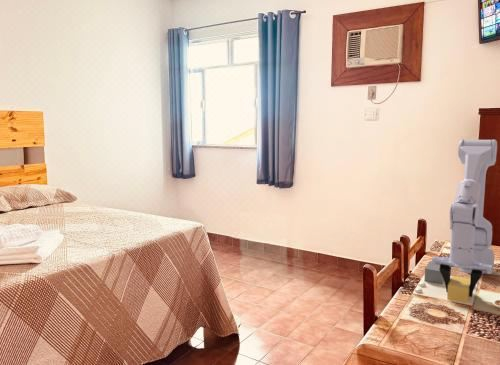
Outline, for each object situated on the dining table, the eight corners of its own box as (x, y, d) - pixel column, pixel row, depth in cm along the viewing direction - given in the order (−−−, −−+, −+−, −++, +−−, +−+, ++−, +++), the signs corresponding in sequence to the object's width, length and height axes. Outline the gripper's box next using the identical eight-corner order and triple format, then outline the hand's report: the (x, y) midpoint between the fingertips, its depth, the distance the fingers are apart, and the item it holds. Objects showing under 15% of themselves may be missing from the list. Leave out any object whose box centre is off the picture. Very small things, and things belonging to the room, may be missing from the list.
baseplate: (425, 274, 131) (426, 269, 131) (478, 283, 123) (478, 278, 123) (412, 296, 115) (412, 290, 114) (472, 309, 107) (472, 302, 106)
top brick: (451, 288, 117) (451, 275, 117) (470, 292, 114) (471, 279, 114) (447, 298, 111) (447, 285, 110) (467, 303, 108) (468, 288, 107)
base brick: (429, 272, 130) (429, 261, 129) (446, 275, 127) (447, 263, 126) (424, 281, 123) (425, 268, 122) (442, 284, 120) (443, 271, 120)
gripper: (430, 246, 111) (428, 292, 113) (491, 254, 103) (488, 304, 105) (435, 239, 117) (433, 284, 119) (493, 247, 109) (490, 294, 111)
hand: (459, 293), depth 112 cm, fingers closed on top brick, 5 cm apart
